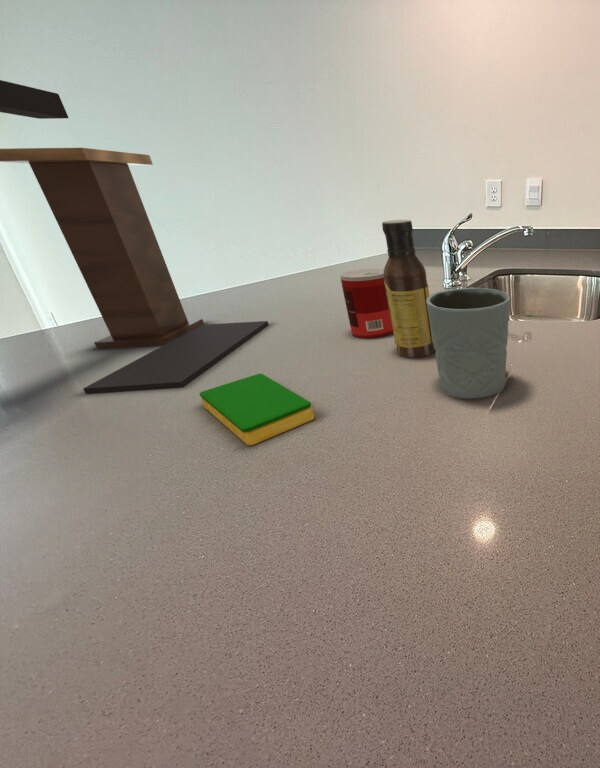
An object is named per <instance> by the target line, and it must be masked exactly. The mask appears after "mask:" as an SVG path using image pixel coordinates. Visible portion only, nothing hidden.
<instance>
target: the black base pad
mask: <svg viewBox="0 0 600 768" xmlns="http://www.w3.org/2000/svg"><path fill="white" fill-rule="evenodd" d="M269 325H270V324H269V321H268V320H263V321H261V320H260V321H259V320H258V321H243V322H241V321H240V322H226V323H225V322H224V323H207V324H205V323H204V325H201V326H199V327H197V328H195V329H193V330H191V331H189V332H188V333H186V334H184V335H182V336H180V337H178V338H176V339H175V340H173V341H171V342H169V343H167V344H165V345H160V347H158V348H156V349H154V350H153V351H150V352H148V353H146V354H145V355H143V356H141V357H139V358H137V359H135V360H133V361H132V362H130V363H128V364H126V365H124V366H122V367H120V368H119V369H117V370H115V371H113V372H111V373H109V374H107V375H105V376H103V377H102V378H100V379H98V380H97V381H94V382H92V383H90V384H89V385H87V386H85V387H83V388H82V389H83V391H84V393H85V394H86V395H92V394H105V393H106V394H107V393H120V392H121V393H122V392H137V391H149V390H150V391H151V390H165V389H180V388H185V387H186V386H187V385H189V384H190V383H191V382H193V381H194V380H196V379H197V378H198V377H200V376H201V375H203V374H204V373H205V372H207V371H208V370H209V369H211V368H212V367H213V366H215V365H216V364H218V363H219V362H220V361H222V360H223V359H224V358H225V357H227V356H228V355H230V354H231V353H233V352H234V351H235V350H237V349H238V348H240V347H241V346H242V345H244V344H245V343H246V342H247V341H249V340H251V339H252V338H253V337H255V336H256V335H258V334H259V333H260V332H261V331H263V330H265V329H266V328H267V327H268V326H269Z"/></svg>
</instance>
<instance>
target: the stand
mask: <svg viewBox="0 0 600 768" xmlns="http://www.w3.org/2000/svg"><path fill="white" fill-rule="evenodd" d="M0 163H16V164H29V166H30V168H31V170H32V172H33V175H34V177H35V178H36V181H37V183H38V185H39V187H40V190H41V191H42V194H43V196H44V197H45V200H46V202H47V204H48V206H49V209H50V211H51V213H52V214H53V217H54V219H55V221H56V223H57V225H58V227H59V230H60V231H61V234H62V236H63V238H64V240H65V242H66V244H67V246H68V248H69V250H70V252H71V255H72V256H73V259H74V260H75V263H76V265H77V267H78V269H79V271H80V274H81V276H82V277H83V280H84V282H85V284H86V286H87V288H88V290H89V292H90V295H91V296H92V299H93V301H94V303H95V305H96V307H97V309H98V311H99V313H100V315H101V318H102V320H103V322H104V324H105V326H106V328H107V330H108V332H109V335H108V336H107V337H104V338H102V339H100V340H97V341H94V343H93V344H94V346H95V348H96V350H101V349H103V350H104V349H121V348H136V347H137V348H138V347H154V346H163V345H165V344H167V343H169V342H171V341H173V340H175V339H176V338H178V337H180V336H182V335H184V334H186V333H188V332H189V331H191V330H193V329H195V328H197V327H199V326H201V325H204V324H205V323H204V320H203V318H194V319H193V318H192V319H188V318H187V314H186V313H185V309H184V308H183V305H182V302H181V300H180V297H179V294H178V291H177V289H176V287H175V283H174V281H173V279H172V278H173V277H172V276H171V273H170V271H169V268H168V266H167V263H166V260H165V258H164V255H163V253H162V250H161V247H160V246H159V242H158V239H157V237H156V234H155V232H154V229H153V227H152V224H151V222H150V219H149V216H148V214H147V211H146V209H145V205H144V203H143V200H142V198H141V195H140V192H139V190H138V188H137V184H136V182H135V180H134V177H133V174H132V171H131V169H130V166H153V165H154V163H153V162H152V158H151V155H150V154H145V153H134V152H125V151H118V150H117V151H115V150H106V149H97V148H89V147H24V148H23V147H22V148H19V147H18V148H17V147H16V148H13V147H12V148H0Z"/></svg>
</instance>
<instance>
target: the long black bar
mask: <svg viewBox="0 0 600 768" xmlns="http://www.w3.org/2000/svg"><path fill="white" fill-rule="evenodd" d="M0 113H2V114H9V115H13V116H21V117H26V118H33V119H41V120H43V119H44V120H45V119H51V120H52V119H55V120H56V119H69V114H68V113H67V110H66V108H65V106H64V104H63V101H62V99H61V96H60V94H59V93H57V92H54V91H53V92H52V91H49V90H44V89H40V88H37V87H32V86H26V85H24V84H19V83H15V82H10V81H7V80H2V79H0Z"/></svg>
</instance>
